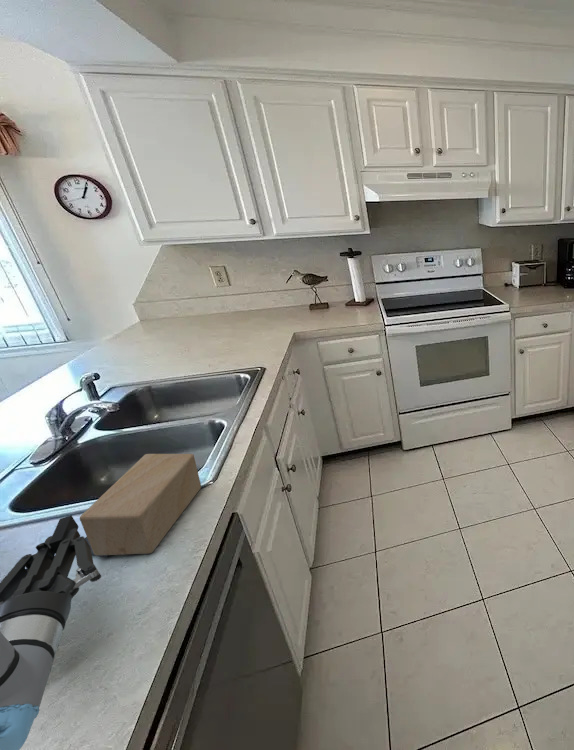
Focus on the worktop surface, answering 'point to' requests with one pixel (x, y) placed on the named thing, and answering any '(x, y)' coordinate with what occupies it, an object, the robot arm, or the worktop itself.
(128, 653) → the worktop surface
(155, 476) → the wooden block
